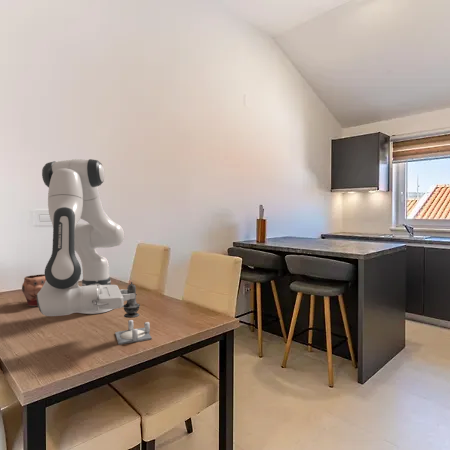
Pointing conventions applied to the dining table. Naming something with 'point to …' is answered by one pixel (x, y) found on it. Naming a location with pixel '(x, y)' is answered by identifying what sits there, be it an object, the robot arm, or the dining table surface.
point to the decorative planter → (33, 288)
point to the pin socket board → (123, 341)
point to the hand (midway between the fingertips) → (134, 293)
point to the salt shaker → (131, 303)
